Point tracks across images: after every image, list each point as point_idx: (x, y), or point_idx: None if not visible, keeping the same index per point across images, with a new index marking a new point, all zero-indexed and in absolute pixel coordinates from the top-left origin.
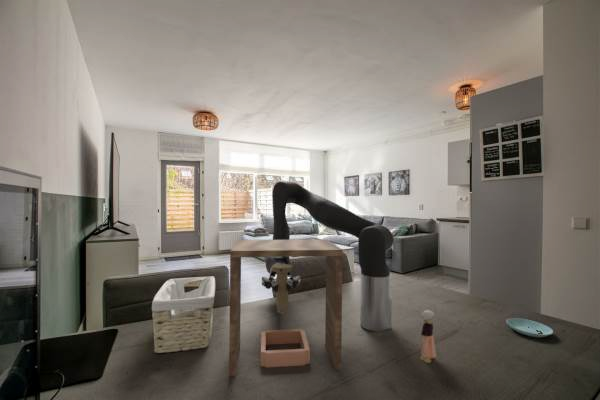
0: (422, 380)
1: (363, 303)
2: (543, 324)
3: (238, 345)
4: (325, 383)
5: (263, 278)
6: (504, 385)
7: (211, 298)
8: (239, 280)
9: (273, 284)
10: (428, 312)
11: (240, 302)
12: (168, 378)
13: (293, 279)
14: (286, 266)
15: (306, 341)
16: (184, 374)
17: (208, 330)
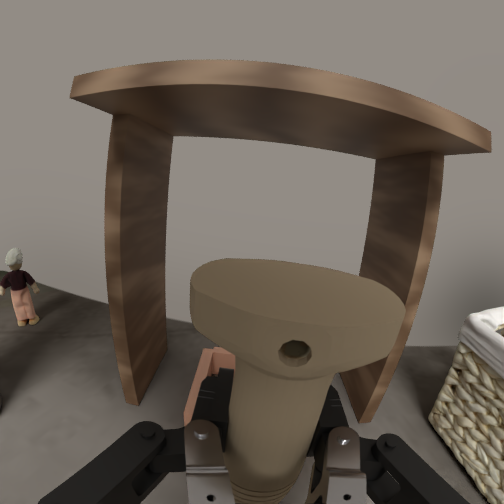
0: (79, 309)
1: None
2: None
3: (356, 372)
4: (197, 336)
5: (452, 490)
6: (30, 286)
7: (467, 316)
8: (398, 233)
9: (336, 411)
10: (18, 249)
11: None
12: (421, 362)
13: (153, 448)
14: (255, 271)
15: (199, 369)
16: (409, 368)
17: (441, 389)
